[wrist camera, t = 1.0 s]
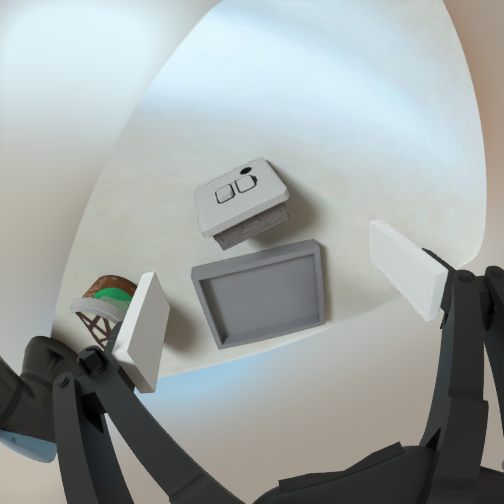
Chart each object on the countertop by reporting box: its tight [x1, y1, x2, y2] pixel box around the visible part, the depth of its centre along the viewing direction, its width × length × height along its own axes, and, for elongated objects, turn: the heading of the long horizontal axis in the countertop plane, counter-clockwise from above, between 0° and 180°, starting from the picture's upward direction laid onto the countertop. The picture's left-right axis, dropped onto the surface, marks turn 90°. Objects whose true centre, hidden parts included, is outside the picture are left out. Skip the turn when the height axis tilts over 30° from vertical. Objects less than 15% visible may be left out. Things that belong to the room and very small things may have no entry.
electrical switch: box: [194, 158, 290, 250], centre depth 30 cm, size 9×5×9 cm, turn 115°
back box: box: [191, 239, 325, 350], centre depth 39 cm, size 17×14×2 cm
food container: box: [70, 275, 137, 349], centre depth 34 cm, size 12×6×10 cm, turn 21°
